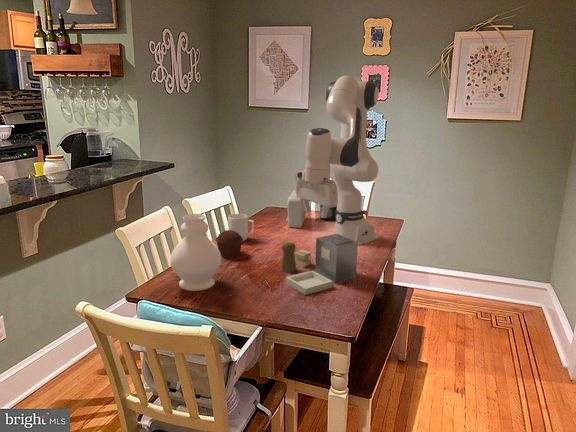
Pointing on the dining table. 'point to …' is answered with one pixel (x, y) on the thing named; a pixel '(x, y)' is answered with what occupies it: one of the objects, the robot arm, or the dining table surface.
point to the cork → (288, 258)
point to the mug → (240, 224)
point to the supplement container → (329, 214)
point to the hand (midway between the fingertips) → (315, 214)
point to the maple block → (302, 258)
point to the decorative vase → (195, 255)
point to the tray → (309, 282)
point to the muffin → (229, 243)
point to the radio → (295, 210)
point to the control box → (336, 257)
